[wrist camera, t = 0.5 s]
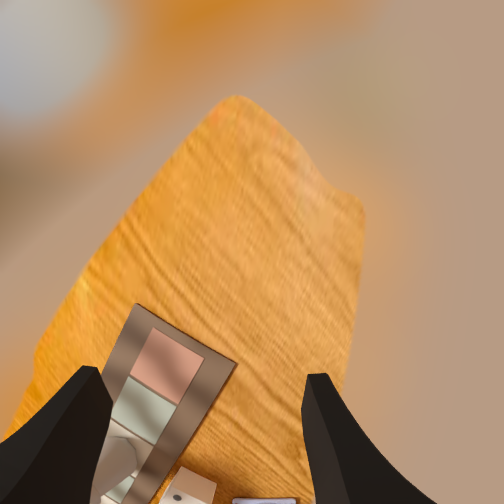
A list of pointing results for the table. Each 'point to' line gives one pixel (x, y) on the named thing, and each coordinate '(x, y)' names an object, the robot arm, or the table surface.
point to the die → (189, 489)
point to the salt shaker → (112, 466)
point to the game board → (157, 397)
